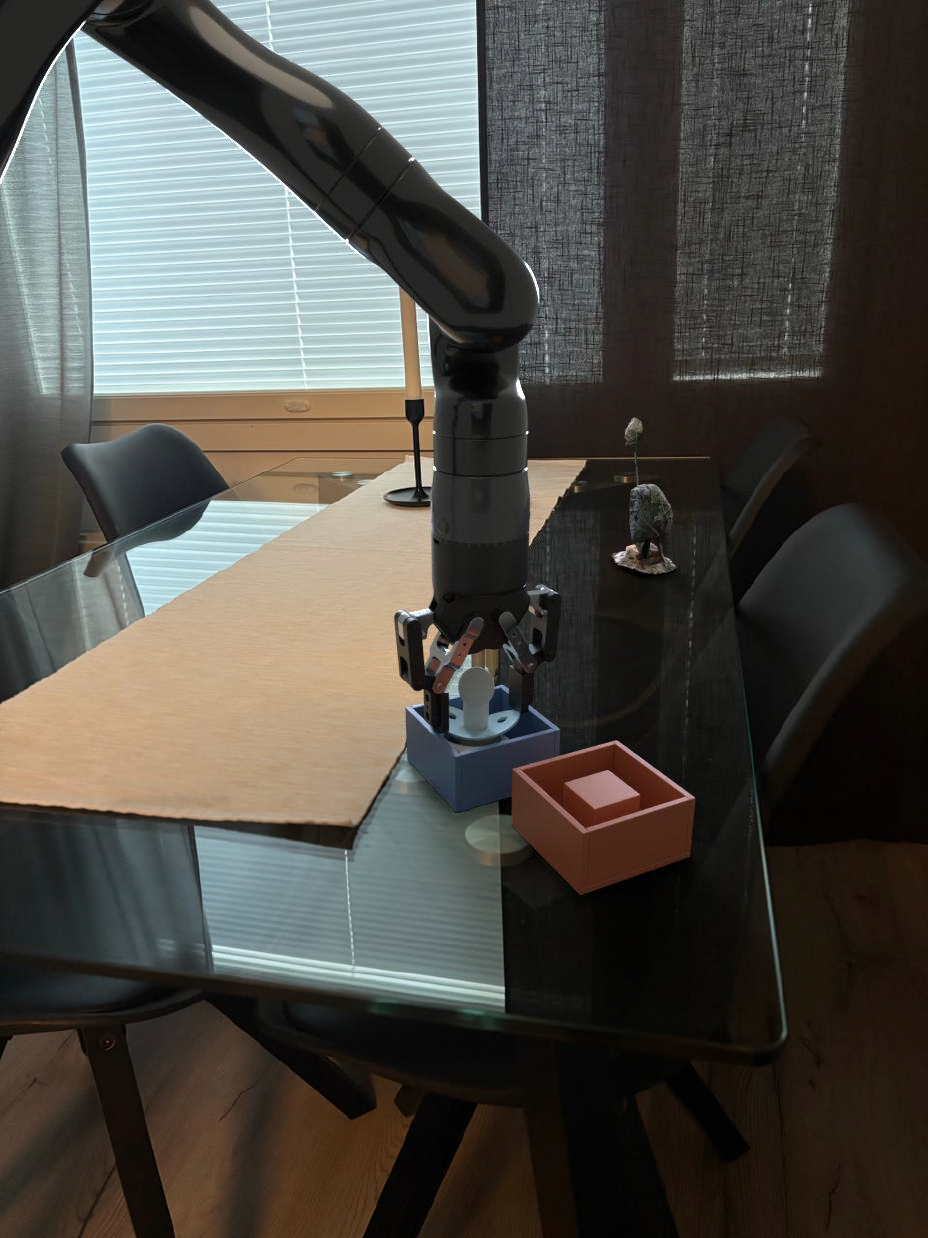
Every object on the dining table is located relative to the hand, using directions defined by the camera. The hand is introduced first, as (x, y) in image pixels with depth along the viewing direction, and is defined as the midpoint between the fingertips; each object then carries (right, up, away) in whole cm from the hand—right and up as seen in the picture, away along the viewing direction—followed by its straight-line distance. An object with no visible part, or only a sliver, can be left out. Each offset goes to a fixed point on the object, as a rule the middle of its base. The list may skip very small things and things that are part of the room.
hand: (479, 719), depth 79 cm
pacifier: (-1, -2, +1) cm, 2 cm away
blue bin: (0, -5, +2) cm, 5 cm away
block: (+9, -8, -8) cm, 14 cm away
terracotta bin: (+9, -8, -8) cm, 14 cm away
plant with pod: (+23, +15, +52) cm, 59 cm away
